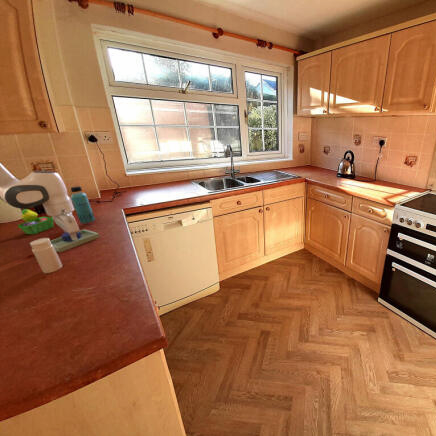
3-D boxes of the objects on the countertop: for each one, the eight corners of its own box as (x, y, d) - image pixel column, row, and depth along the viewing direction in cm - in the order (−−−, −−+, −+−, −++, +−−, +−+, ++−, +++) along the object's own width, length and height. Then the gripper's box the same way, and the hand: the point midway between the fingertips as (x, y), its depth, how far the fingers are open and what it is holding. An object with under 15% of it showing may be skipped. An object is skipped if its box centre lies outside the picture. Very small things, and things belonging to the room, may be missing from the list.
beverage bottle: (78, 225, 127) (63, 188, 120) (91, 220, 133) (78, 185, 125) (86, 226, 125) (71, 189, 117) (99, 222, 131) (86, 185, 123)
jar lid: (85, 235, 111) (83, 230, 110) (74, 241, 106) (72, 236, 105) (70, 236, 111) (68, 230, 110) (59, 242, 105) (57, 236, 104)
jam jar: (47, 274, 85) (32, 246, 81) (39, 271, 88) (25, 243, 83) (65, 266, 90) (53, 239, 86) (58, 263, 92) (45, 236, 88)
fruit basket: (32, 235, 117) (22, 214, 112) (18, 234, 118) (7, 213, 114) (58, 226, 127) (49, 205, 123) (45, 225, 129) (35, 205, 124)
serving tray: (59, 252, 100) (57, 248, 99) (45, 247, 105) (43, 242, 104) (99, 237, 113) (98, 233, 112) (85, 232, 118) (84, 229, 117)
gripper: (76, 210, 99) (88, 240, 105) (62, 202, 111) (73, 230, 116) (56, 215, 95) (70, 246, 100) (44, 206, 106) (56, 235, 111)
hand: (72, 237), depth 108 cm, fingers closed on jar lid, 6 cm apart
